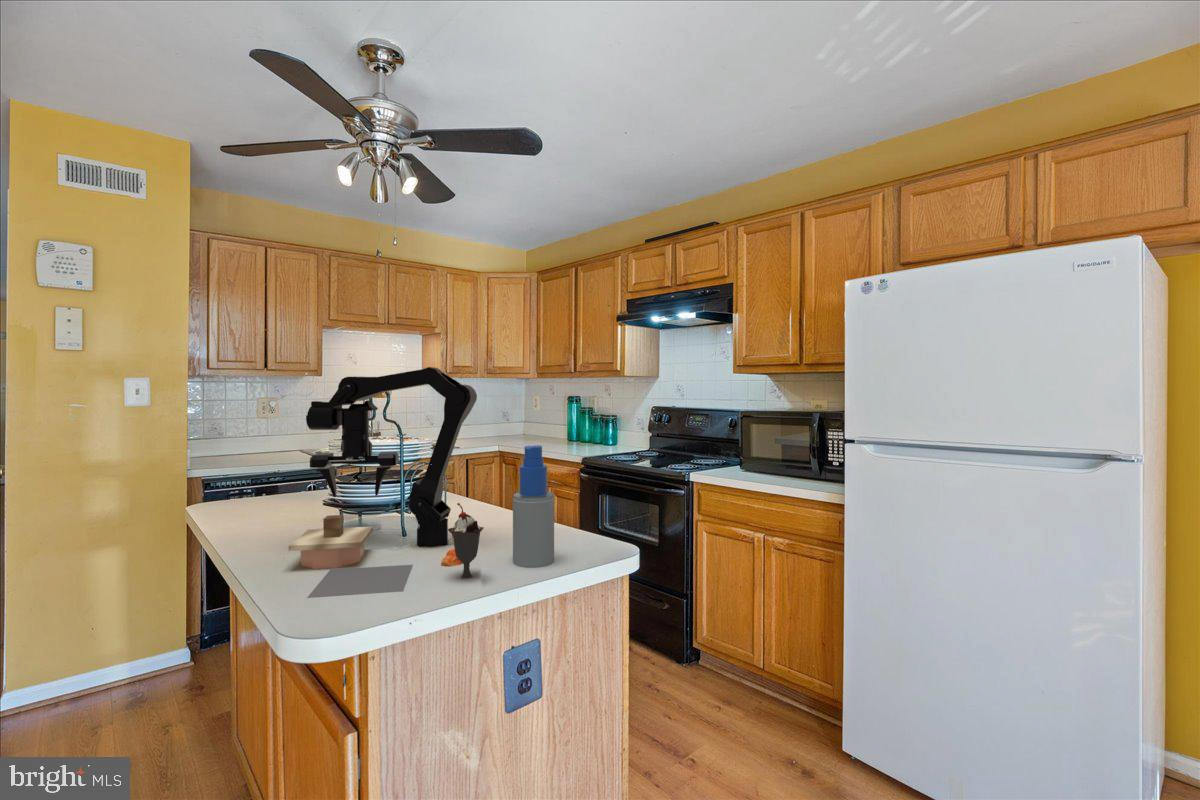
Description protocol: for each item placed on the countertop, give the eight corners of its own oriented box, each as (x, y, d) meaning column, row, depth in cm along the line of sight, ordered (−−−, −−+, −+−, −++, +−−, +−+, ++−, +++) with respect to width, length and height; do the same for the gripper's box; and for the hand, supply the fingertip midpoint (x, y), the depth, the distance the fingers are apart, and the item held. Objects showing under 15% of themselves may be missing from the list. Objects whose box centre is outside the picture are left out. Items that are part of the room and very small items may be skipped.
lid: (373, 530, 131) (373, 509, 131) (361, 547, 117) (360, 522, 117) (308, 534, 128) (308, 511, 128) (288, 550, 115) (288, 525, 114)
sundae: (451, 575, 115) (451, 500, 115) (485, 574, 115) (485, 500, 115) (445, 586, 108) (445, 507, 108) (481, 585, 109) (481, 506, 109)
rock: (416, 576, 116) (415, 556, 116) (437, 559, 128) (437, 540, 128) (474, 578, 115) (474, 557, 115) (490, 560, 128) (489, 541, 127)
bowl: (367, 554, 130) (367, 532, 130) (356, 570, 118) (356, 545, 118) (311, 557, 127) (311, 534, 127) (295, 573, 116) (295, 549, 116)
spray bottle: (535, 552, 131) (535, 443, 130) (562, 560, 125) (562, 445, 124) (504, 561, 124) (504, 446, 124) (531, 570, 118) (530, 448, 118)
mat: (413, 568, 119) (413, 564, 119) (403, 595, 104) (403, 591, 104) (330, 573, 116) (330, 569, 116) (307, 602, 100) (307, 597, 100)
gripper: (401, 427, 145) (402, 488, 145) (321, 428, 141) (322, 491, 142) (395, 430, 134) (395, 496, 135) (308, 431, 130) (309, 500, 131)
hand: (356, 496), depth 136 cm, fingers open, 9 cm apart
